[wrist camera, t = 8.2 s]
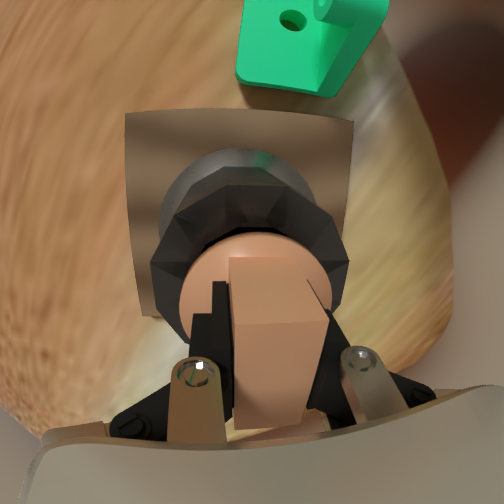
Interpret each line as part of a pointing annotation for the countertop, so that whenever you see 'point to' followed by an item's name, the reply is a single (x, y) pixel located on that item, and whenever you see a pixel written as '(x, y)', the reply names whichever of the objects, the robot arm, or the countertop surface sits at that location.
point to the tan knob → (265, 320)
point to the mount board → (216, 138)
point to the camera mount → (305, 42)
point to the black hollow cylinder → (238, 219)
